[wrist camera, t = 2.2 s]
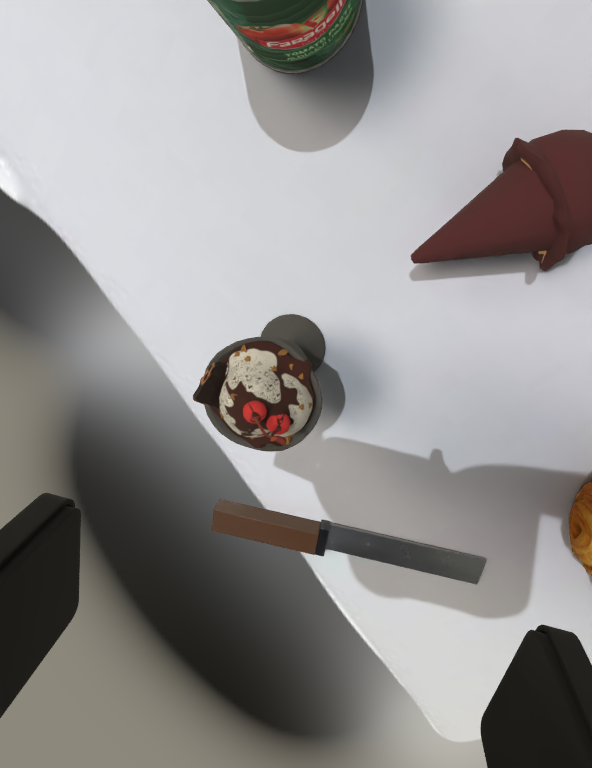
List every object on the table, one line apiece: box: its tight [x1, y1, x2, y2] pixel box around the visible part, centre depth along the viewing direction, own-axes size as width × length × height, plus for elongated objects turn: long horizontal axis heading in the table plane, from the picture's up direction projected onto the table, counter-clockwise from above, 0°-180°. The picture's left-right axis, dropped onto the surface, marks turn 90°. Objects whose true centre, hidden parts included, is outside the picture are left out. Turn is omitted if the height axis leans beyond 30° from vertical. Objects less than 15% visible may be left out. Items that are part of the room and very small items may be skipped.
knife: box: [212, 499, 486, 584], centre depth 39 cm, size 23×3×2 cm, turn 82°
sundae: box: [193, 314, 325, 451], centre depth 28 cm, size 7×7×15 cm
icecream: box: [411, 130, 592, 271], centre depth 26 cm, size 7×7×15 cm
